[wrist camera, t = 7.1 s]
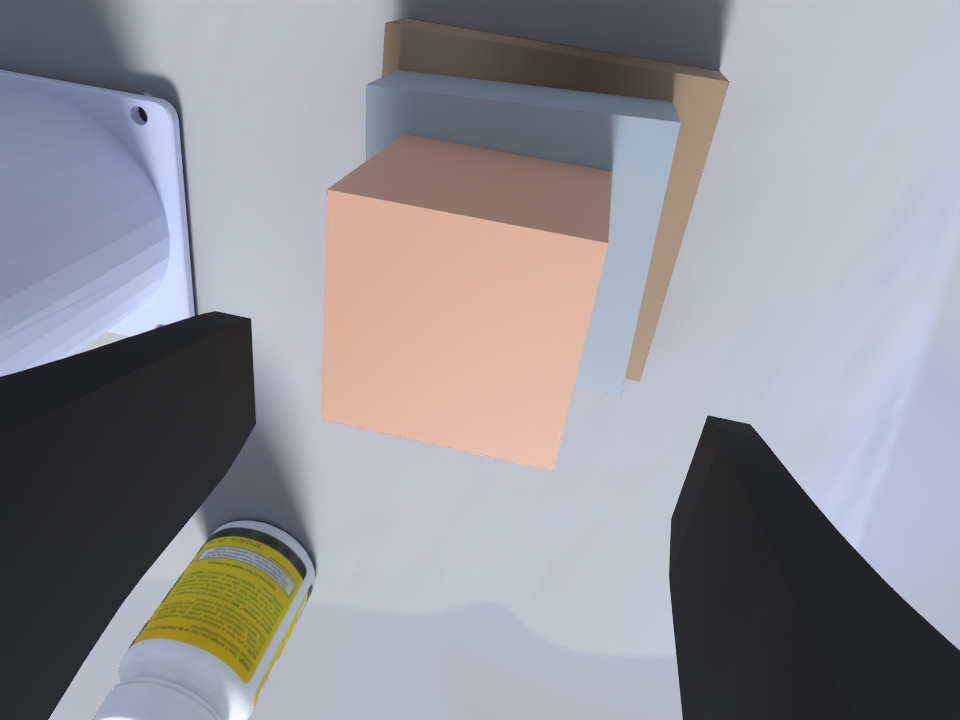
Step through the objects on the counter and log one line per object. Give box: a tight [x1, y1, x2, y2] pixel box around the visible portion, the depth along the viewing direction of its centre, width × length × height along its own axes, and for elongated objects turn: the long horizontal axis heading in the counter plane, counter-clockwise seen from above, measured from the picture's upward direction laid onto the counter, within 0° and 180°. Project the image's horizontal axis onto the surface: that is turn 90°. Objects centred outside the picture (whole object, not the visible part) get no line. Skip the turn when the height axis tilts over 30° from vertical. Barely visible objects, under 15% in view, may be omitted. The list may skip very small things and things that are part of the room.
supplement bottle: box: [92, 521, 315, 720], centre depth 25 cm, size 5×5×8 cm
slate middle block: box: [366, 70, 681, 396], centre depth 17 cm, size 6×6×2 cm
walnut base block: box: [382, 18, 729, 381], centre depth 19 cm, size 8×8×2 cm
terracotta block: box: [321, 134, 612, 471], centre depth 14 cm, size 4×4×4 cm
